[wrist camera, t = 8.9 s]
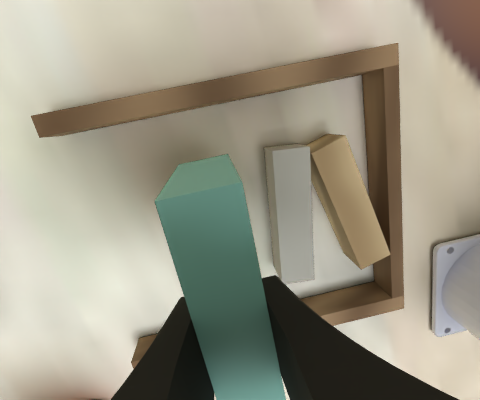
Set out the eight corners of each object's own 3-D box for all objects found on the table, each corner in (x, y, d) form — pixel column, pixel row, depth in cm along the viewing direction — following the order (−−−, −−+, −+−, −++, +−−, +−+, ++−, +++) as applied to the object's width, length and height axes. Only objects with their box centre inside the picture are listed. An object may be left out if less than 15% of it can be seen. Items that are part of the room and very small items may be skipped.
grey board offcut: (295, 143, 16) (309, 146, 14) (301, 259, 19) (314, 279, 16) (263, 147, 16) (272, 150, 14) (272, 263, 19) (282, 284, 16)
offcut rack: (374, 52, 15) (398, 42, 13) (385, 290, 20) (404, 308, 18) (54, 116, 14) (30, 116, 12) (143, 349, 19) (135, 374, 17)
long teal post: (227, 154, 11) (242, 182, 6) (268, 344, 14) (298, 462, 9) (178, 164, 11) (154, 201, 6) (230, 353, 14) (241, 477, 9)
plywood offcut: (325, 133, 16) (345, 135, 14) (367, 238, 19) (390, 254, 16) (296, 149, 16) (311, 153, 14) (341, 251, 19) (361, 269, 16)
